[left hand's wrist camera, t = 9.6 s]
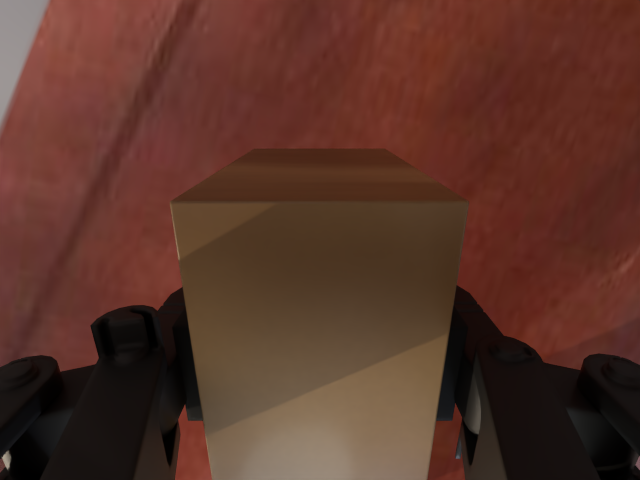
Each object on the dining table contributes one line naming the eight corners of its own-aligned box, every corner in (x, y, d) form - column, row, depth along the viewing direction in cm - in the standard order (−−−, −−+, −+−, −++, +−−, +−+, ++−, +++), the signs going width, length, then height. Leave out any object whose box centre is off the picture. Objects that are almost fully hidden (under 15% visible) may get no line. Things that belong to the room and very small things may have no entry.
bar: (253, 148, 13) (168, 201, 6) (385, 148, 13) (470, 200, 6) (278, 538, 21) (256, 771, 14) (361, 538, 21) (383, 771, 14)
